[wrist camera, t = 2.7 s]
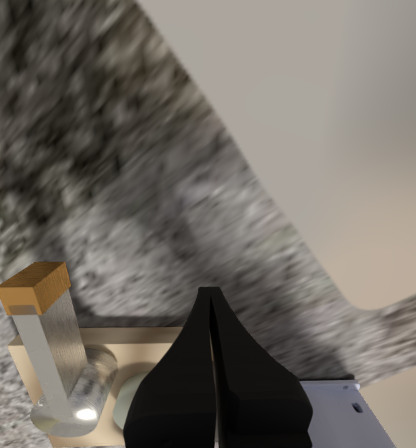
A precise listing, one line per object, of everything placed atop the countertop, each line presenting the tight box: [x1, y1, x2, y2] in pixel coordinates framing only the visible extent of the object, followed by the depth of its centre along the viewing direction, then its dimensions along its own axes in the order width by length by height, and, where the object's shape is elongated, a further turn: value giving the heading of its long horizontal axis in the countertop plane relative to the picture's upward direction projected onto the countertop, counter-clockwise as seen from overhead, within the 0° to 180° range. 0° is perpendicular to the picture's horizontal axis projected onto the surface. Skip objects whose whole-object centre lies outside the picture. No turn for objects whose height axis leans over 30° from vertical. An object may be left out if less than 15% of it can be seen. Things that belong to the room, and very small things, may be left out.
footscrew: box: [0, 262, 118, 438], centre depth 12 cm, size 4×12×3 cm, turn 178°
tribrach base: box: [7, 327, 218, 448], centre depth 17 cm, size 18×15×5 cm
